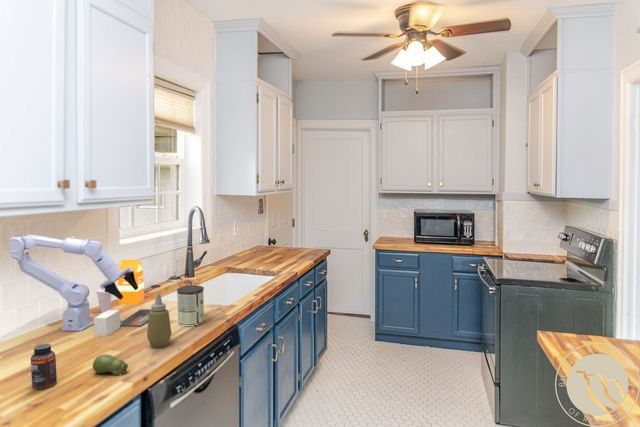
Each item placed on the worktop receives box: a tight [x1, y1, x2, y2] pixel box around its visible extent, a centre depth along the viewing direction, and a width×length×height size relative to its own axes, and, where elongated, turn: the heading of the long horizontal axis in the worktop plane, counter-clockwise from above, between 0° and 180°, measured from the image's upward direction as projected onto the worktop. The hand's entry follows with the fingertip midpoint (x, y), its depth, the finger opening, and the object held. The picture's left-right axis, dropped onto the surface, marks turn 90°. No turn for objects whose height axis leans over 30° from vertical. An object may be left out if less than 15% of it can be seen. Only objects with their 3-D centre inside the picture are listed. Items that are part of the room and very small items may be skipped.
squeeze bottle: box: [146, 293, 172, 348], centre depth 152 cm, size 8×8×18 cm
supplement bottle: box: [30, 343, 58, 390], centre depth 122 cm, size 6×6×11 cm
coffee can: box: [176, 285, 205, 327], centre depth 176 cm, size 10×10×14 cm
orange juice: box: [117, 259, 145, 305], centre depth 205 cm, size 8×9×20 cm
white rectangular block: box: [93, 309, 121, 337], centre depth 166 cm, size 10×4×7 cm, turn 178°
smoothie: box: [95, 279, 113, 314], centre depth 190 cm, size 6×6×14 cm
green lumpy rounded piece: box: [92, 354, 129, 376], centre depth 131 cm, size 6×5×10 cm
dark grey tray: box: [120, 308, 152, 328], centre depth 180 cm, size 16×8×2 cm, turn 178°
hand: (129, 293), depth 176 cm, fingers open, 7 cm apart
